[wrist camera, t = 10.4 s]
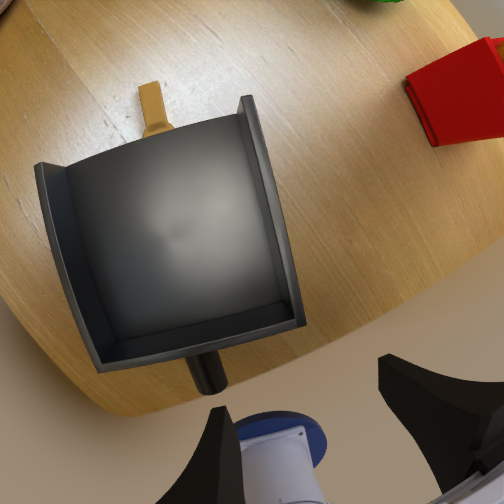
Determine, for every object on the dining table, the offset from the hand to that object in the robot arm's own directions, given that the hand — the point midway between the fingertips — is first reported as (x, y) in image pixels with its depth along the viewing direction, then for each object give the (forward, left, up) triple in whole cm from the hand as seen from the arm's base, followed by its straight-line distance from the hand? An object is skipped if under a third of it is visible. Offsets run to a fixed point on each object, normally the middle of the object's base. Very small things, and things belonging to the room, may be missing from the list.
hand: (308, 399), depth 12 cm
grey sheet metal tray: (+7, +4, -4) cm, 9 cm away
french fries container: (+14, -20, -10) cm, 26 cm away
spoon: (+16, +4, -9) cm, 19 cm away
